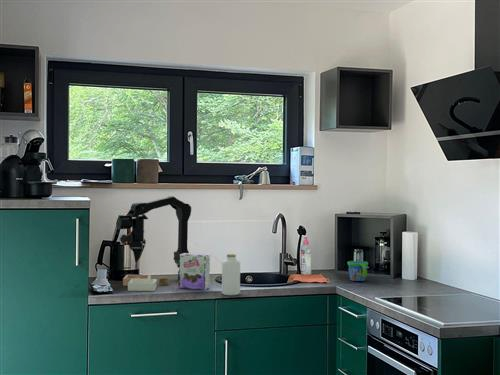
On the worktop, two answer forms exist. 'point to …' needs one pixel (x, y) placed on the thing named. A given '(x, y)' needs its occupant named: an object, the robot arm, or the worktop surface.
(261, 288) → the worktop surface
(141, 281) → the cream dish
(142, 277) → the terracotta dish
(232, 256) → the potion bottle
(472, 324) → the worktop surface
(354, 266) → the snack cup
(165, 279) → the walnut block
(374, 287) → the worktop surface
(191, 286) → the candy box
